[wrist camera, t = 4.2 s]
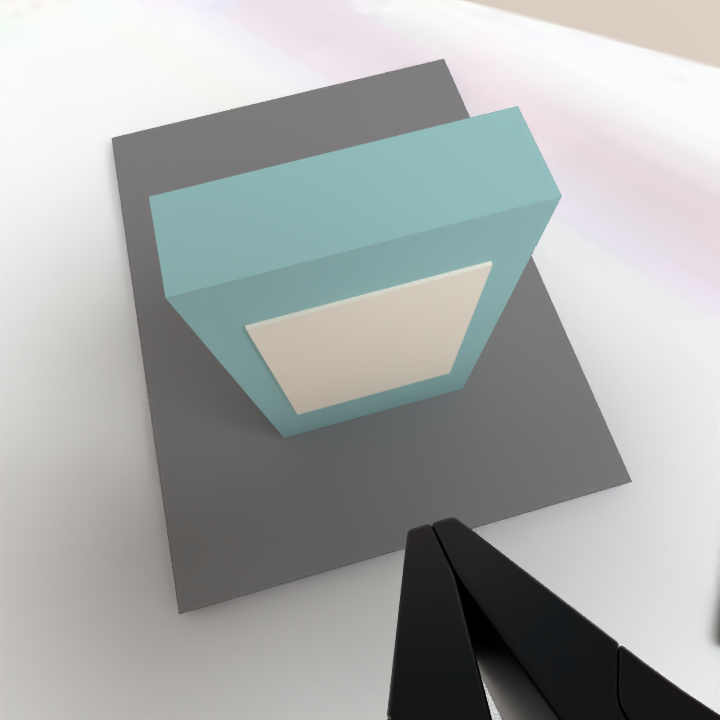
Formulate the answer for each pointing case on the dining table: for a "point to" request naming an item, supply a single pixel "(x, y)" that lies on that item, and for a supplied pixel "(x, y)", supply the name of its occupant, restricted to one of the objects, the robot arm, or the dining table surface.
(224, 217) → the card box
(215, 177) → the mat
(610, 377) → the dining table surface
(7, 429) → the dining table surface
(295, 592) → the dining table surface
